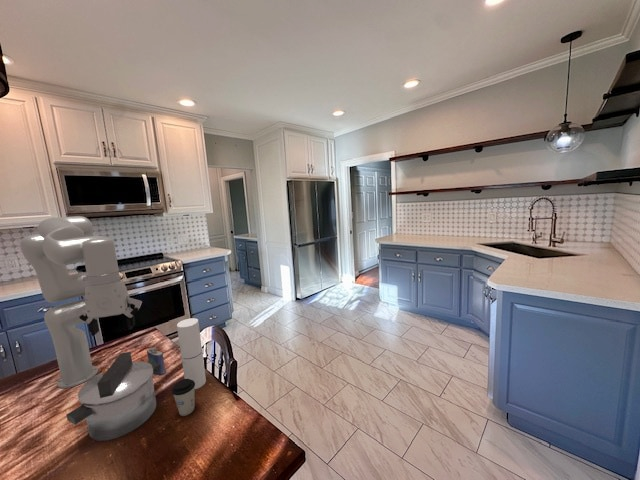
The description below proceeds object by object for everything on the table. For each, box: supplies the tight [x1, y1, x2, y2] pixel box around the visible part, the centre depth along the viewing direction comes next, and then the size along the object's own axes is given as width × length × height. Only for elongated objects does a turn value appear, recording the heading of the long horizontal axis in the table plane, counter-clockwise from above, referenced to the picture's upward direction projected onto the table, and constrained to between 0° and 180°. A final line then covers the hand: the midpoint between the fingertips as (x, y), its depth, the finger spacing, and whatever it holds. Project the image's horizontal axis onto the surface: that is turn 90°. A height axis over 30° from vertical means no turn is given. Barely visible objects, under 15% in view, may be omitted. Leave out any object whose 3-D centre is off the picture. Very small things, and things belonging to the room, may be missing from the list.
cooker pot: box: [65, 362, 161, 442], centre depth 87 cm, size 18×26×12 cm
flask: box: [146, 346, 166, 376], centre depth 109 cm, size 9×3×11 cm, turn 61°
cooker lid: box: [77, 351, 154, 406], centre depth 85 cm, size 19×19×6 cm
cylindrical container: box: [176, 317, 207, 390], centre depth 100 cm, size 7×7×25 cm
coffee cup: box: [171, 378, 196, 417], centre depth 88 cm, size 7×7×10 cm
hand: (113, 330), depth 83 cm, fingers open, 9 cm apart
